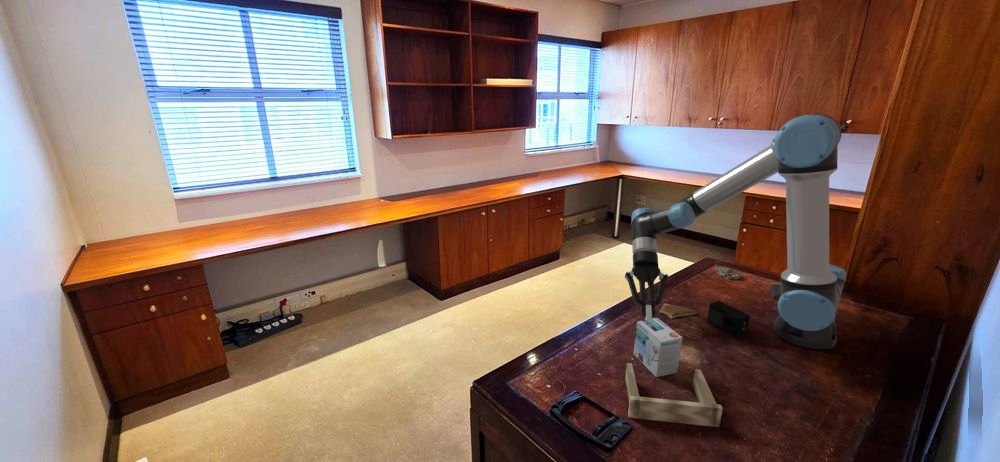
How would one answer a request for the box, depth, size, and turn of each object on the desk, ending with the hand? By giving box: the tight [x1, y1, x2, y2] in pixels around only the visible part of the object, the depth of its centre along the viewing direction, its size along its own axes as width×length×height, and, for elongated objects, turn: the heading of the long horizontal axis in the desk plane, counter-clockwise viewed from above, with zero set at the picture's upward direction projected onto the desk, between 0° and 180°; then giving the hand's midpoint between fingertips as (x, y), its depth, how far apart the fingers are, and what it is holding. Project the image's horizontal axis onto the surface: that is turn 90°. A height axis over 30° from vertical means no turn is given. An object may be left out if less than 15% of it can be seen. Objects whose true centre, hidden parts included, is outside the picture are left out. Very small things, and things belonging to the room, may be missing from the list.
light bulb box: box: [633, 317, 683, 378], centre depth 108 cm, size 11×7×11 cm, turn 16°
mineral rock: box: [713, 265, 742, 281], centre depth 162 cm, size 11×4×8 cm
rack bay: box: [624, 362, 723, 428], centre depth 95 cm, size 19×13×5 cm
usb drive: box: [769, 282, 781, 301], centre depth 145 cm, size 5×12×3 cm, turn 153°
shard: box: [659, 303, 699, 319], centre depth 133 cm, size 11×8×2 cm
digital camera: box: [706, 300, 751, 340], centre depth 124 cm, size 10×5×7 cm, turn 25°
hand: (648, 327), depth 119 cm, fingers closed
